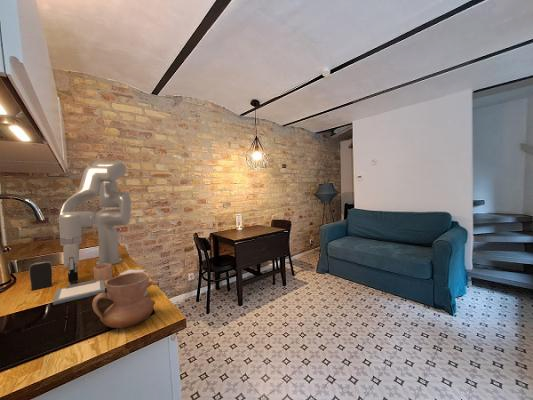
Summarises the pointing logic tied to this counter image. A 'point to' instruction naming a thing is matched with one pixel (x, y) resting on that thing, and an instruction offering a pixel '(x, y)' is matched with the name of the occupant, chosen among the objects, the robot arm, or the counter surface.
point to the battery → (40, 275)
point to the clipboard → (79, 291)
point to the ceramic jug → (126, 300)
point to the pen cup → (103, 272)
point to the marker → (77, 274)
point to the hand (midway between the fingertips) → (73, 279)
